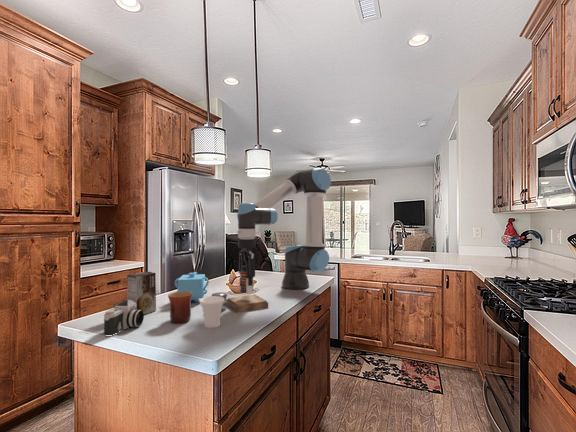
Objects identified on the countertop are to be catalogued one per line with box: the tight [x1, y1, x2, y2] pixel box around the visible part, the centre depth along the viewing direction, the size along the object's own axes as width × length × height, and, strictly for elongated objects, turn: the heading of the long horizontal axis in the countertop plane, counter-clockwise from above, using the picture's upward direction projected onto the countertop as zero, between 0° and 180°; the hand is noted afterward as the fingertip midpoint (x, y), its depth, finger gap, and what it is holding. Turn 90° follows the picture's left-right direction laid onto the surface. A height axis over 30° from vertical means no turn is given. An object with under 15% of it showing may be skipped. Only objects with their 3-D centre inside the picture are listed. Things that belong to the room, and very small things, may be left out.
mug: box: [167, 291, 193, 325], centre depth 119 cm, size 12×9×10 cm
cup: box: [199, 295, 224, 329], centre depth 112 cm, size 9×9×10 cm
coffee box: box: [126, 270, 157, 315], centre depth 129 cm, size 9×6×16 cm
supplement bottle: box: [239, 265, 247, 294], centre depth 137 cm, size 6×6×11 cm
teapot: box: [174, 271, 210, 304], centre depth 150 cm, size 18×16×13 cm
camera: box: [103, 300, 145, 335], centre depth 110 cm, size 16×9×10 cm, turn 177°
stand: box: [227, 294, 269, 314], centre depth 137 cm, size 14×14×3 cm
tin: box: [211, 291, 228, 312], centre depth 132 cm, size 6×6×7 cm
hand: (246, 291), depth 137 cm, fingers closed on supplement bottle, 6 cm apart
